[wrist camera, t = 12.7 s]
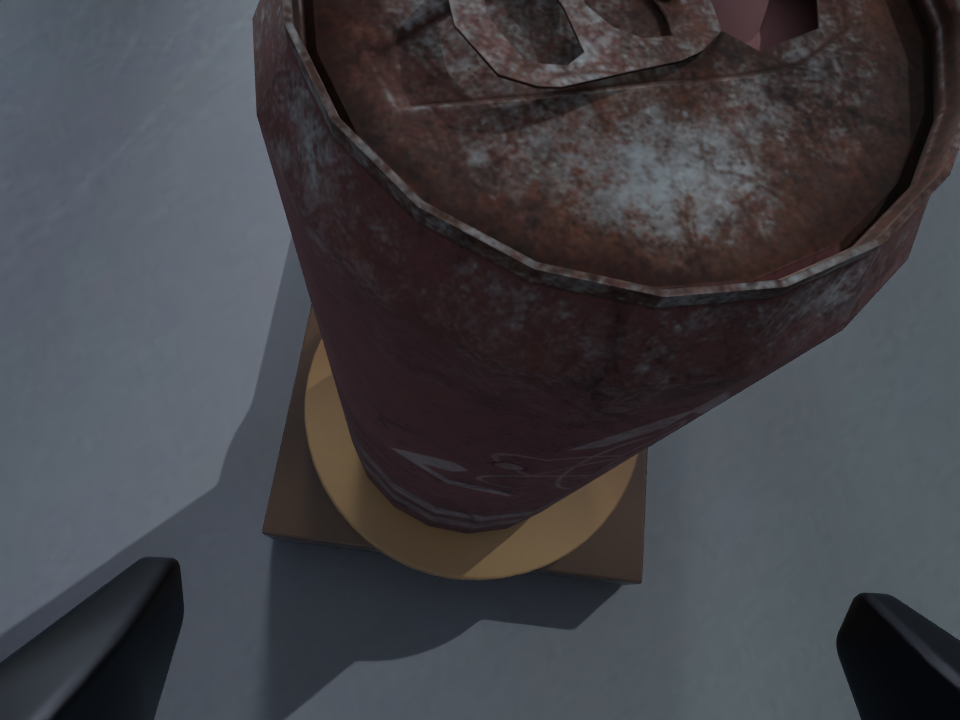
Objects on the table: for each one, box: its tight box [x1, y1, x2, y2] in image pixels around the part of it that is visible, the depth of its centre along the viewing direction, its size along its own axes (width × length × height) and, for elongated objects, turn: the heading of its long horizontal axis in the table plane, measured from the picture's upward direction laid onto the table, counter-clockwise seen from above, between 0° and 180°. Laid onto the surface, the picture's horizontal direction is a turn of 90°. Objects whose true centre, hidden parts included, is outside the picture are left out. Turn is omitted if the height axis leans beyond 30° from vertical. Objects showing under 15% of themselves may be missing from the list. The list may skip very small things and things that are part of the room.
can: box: [253, 0, 960, 534], centre depth 12 cm, size 6×6×14 cm
